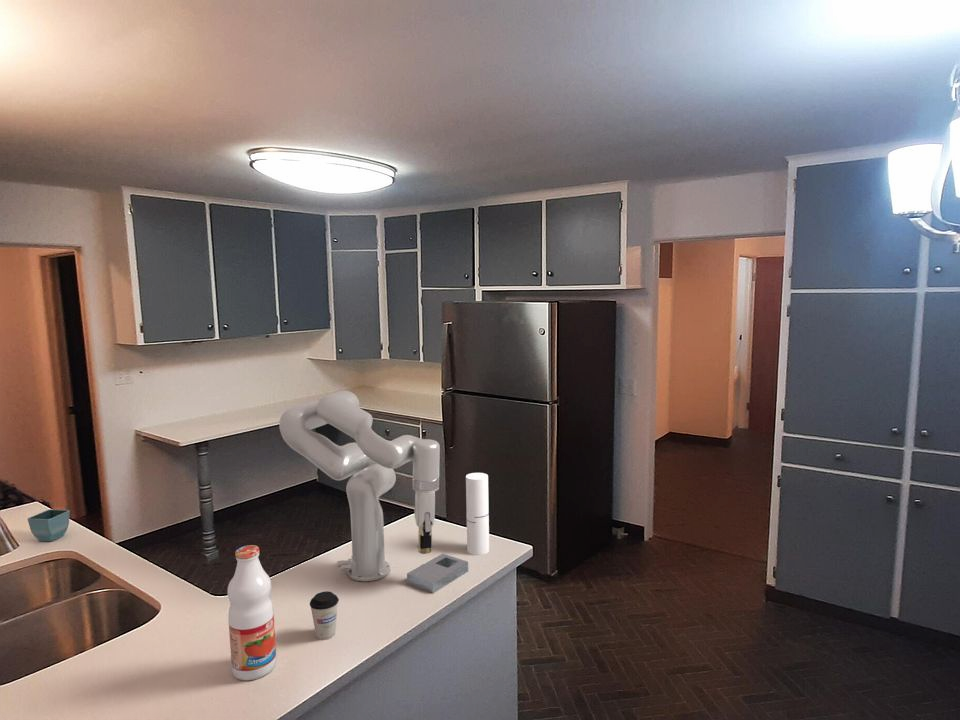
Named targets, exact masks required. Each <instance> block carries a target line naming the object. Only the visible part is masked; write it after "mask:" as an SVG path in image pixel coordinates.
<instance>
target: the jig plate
mask: <svg viewBox="0 0 960 720" xmlns="http://www.w3.org/2000/svg"><path fill="white" fill-rule="evenodd" d="M468 572H469V562H468V561H467V560H463V559H461V558H458V557H454V556H452V555H449V554H445V553H441V554H439V555H438V556H435V557H434V558H432V559H430V560H429V561H426V562H425V563H424V564H421V565H419V566H418V567H416V568H415V569H412V570H411V571H409V572H407V573H406V583H407V585H408V584H409V585H410V586H413V587H415V588H418V589H421V590H423V591H426V592H429V593H431V594H435V593H437V592H438V591H440V590H441V589H443V588H444V587H446V586H447V585H449V584H450V583H451V584H452V582H454V581H455V580H457V579H458V578H460V577H462V576H463V575H465V574H466V573H468Z"/></svg>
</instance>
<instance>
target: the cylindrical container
mask: <svg viewBox="0 0 960 720" xmlns="http://www.w3.org/2000/svg"><path fill="white" fill-rule="evenodd" d="M465 497H466V498H465V499H466V500H465V501H466V503H465V504H466V506H465V507H466V546H467V547H466V551H467V554H469V555H471V556H483V555H486V554H488V553H489V552H490V526H489V525H490V524H489V523H490V519H489V518H490V516H489V515H490V514H489V513H490V512H489V475H488V474H487V473H484V472H471V473H468V474H466V476H465Z"/></svg>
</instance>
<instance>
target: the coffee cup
mask: <svg viewBox="0 0 960 720" xmlns="http://www.w3.org/2000/svg"><path fill="white" fill-rule="evenodd" d="M339 600H340V599H339V597H338V596H337V594H335V593H333V592H332V591H327V590H325V591H321V592H318V593H316V594H315V595H314V596H313V597H312V598H311V600H310V601H309V607H310V609H311V615H312V621H313V625H314V633H315V636H316V637H315V638H316V639H318V640H320V641H327V640H330V639H332V638H333V637H334V636H335V635H336V629H337V628H336V627H337V616H338V605H339V604H338V603H339Z"/></svg>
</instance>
